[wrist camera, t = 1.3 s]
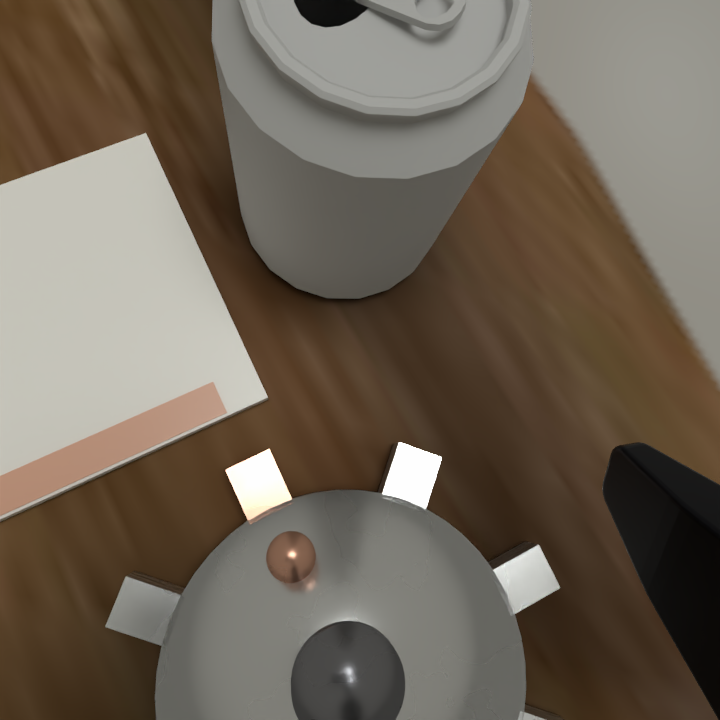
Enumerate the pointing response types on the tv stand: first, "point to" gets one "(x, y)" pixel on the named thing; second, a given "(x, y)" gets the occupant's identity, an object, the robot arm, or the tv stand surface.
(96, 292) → the pad
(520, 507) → the tv stand surface
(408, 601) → the sprocket
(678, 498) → the robot arm
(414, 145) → the can
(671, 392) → the tv stand surface
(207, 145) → the tv stand surface
